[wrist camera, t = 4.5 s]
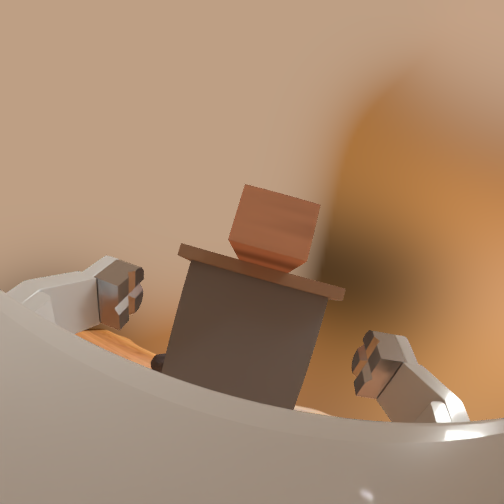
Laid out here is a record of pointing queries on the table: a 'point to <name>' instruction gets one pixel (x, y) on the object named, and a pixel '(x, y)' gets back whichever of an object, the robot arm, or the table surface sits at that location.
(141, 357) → the table surface
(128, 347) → the table surface
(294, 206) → the bar
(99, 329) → the table surface
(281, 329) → the stand
